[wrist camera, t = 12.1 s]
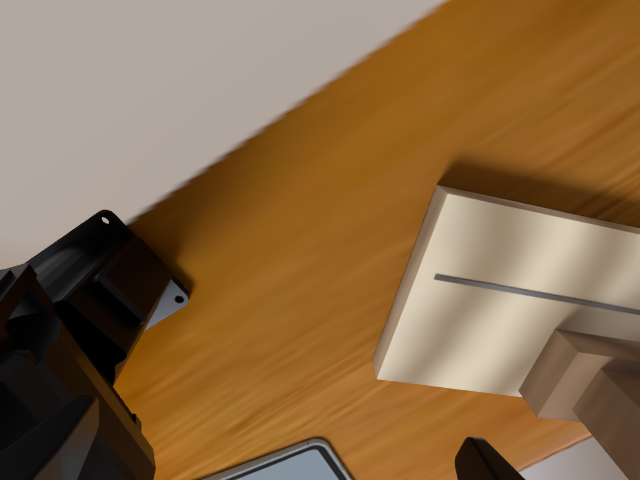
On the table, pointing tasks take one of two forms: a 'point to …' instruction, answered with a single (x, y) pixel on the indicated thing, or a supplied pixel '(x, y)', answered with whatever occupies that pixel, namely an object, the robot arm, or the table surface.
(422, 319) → the birch board
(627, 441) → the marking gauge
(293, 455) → the smartphone
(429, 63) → the table surface
